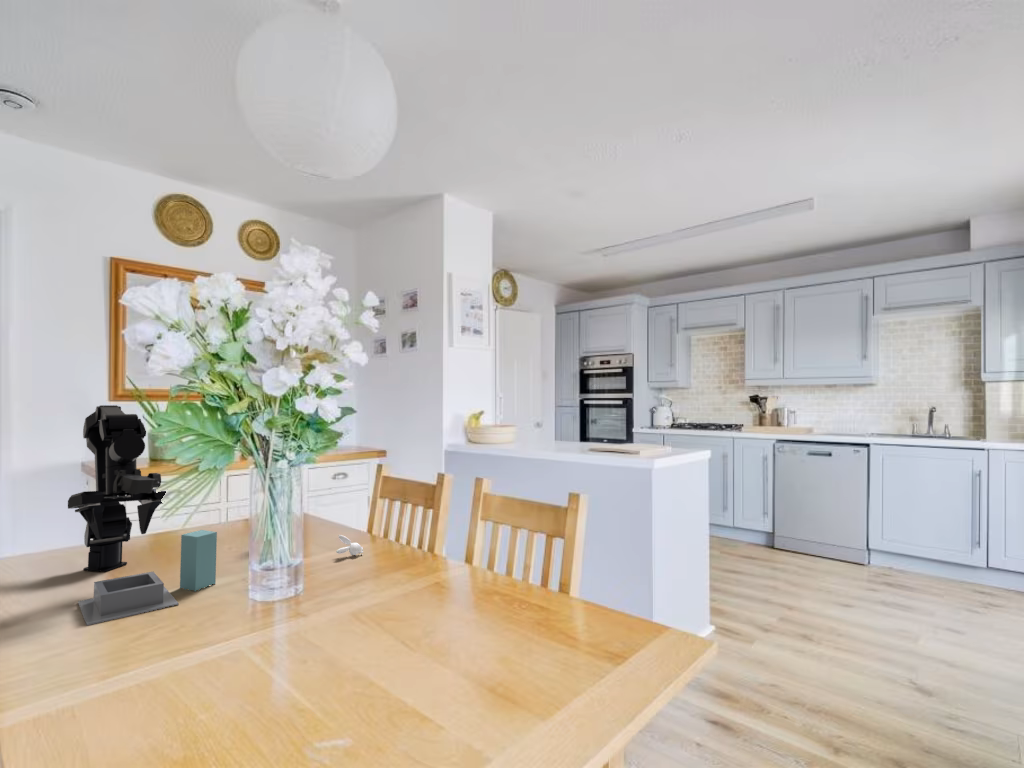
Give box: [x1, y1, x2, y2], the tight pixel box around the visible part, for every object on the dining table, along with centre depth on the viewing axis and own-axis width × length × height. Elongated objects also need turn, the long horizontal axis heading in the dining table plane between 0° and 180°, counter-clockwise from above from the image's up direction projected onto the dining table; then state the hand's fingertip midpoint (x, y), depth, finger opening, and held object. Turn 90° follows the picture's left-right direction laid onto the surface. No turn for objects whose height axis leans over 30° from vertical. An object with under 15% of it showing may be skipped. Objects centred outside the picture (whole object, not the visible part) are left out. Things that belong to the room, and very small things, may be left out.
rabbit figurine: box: [336, 534, 364, 556], centre depth 147 cm, size 6×4×8 cm
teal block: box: [179, 529, 218, 592], centre depth 122 cm, size 5×5×12 cm
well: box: [77, 571, 179, 626], centre depth 111 cm, size 15×15×4 cm
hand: (122, 536), depth 120 cm, fingers open, 9 cm apart
